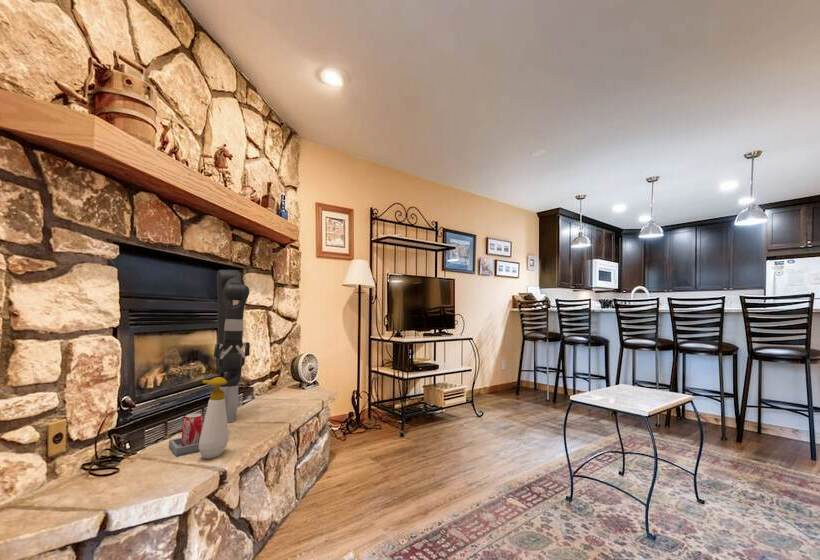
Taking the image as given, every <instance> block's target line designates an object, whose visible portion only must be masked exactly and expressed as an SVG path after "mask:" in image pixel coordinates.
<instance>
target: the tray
mask: <svg viewBox="0 0 820 560" xmlns="http://www.w3.org/2000/svg"><path fill="white" fill-rule="evenodd" d="M181 440H182V437H178V438H172V439H169V440H168V449H169V450H170V451H171V452H172V454H173V455H174V457H176V458H177V457H181V456H186V455H191V454H195V453H200V451H199V443H197V444H192V445H187V446H182V443H181Z"/></svg>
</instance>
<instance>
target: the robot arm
mask: <svg viewBox="0 0 820 560" xmlns="http://www.w3.org/2000/svg"><path fill="white" fill-rule="evenodd" d="M216 289H217V290H216V291H217V342H216V343H215V344H214V349H213V350H214V351H213V358H215V367H216V370H217V371H218V372H219V373H225V375H224V376H223V377H222V378H224V379H225V380H226V381H227V384H223V385H220V390H223V392H224V399H225V406H226V415H227V424H228V423H233V422H236V421H237V415H238V404H239V403H238V400H239V385H240V381H241V378H242V377H241V376H242V370H243V366H244V365H245V359H246V357H249V356H250V352H251V351H250V347H251V346H250V344H251V343H250V342H247V341H246V342H243V337H244V313H245V312H244V311H245V307H246V304H247V301H248V298H249V295H250V288H249V286H247V285H246V284H242V275H241V272H240V271H239V270H235V269H218V270H217V273H216ZM231 301H239V302H238V303H237V304H234V305H233V304H232V302H231ZM242 347H243V348H244V352H243V350H242ZM235 420H236V421H235Z"/></svg>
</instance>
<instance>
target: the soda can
mask: <svg viewBox="0 0 820 560" xmlns="http://www.w3.org/2000/svg"><path fill="white" fill-rule="evenodd" d="M202 415H203V414H202V413H200V412H196V413H195V412H194V413H188V414H186V415H185V416H184V419H183V421H182V430H181V438H182V440H181V443H182V446H187V445H192V444H197V443H199V440H200V436H201V431H202V427H203V423H204V418H203V416H202Z"/></svg>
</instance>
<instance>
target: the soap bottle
mask: <svg viewBox="0 0 820 560" xmlns="http://www.w3.org/2000/svg"><path fill="white" fill-rule="evenodd" d="M202 383H203V384H205V385H206V384H208V385H210V386H215V389H213V390H212V391H211V392H210V395H209V397H210V398H209V400H208V401H207V402H208V403H207V407H206V410H205V416H204V418H203V427H202V431H201V436H200V440H199V451H200V452H199V453H200V456H201V457H202V458H204V459H208V460H209V459H214V458H216V457H219V456H220V455H221V454H223V452H224V451H225V449H226V447H227V446H228V445H227V444H229V438H230V437H229V427H228V426H229V425H228V423H227V415H226V406H225V399H224V392H223V390H220V385H223V384H227V381H226V380H225V379H224V378H223V377H222V376H220V377H219V376H217V377H214V378H212V379H209V380H208V379H204V380H202Z"/></svg>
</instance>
